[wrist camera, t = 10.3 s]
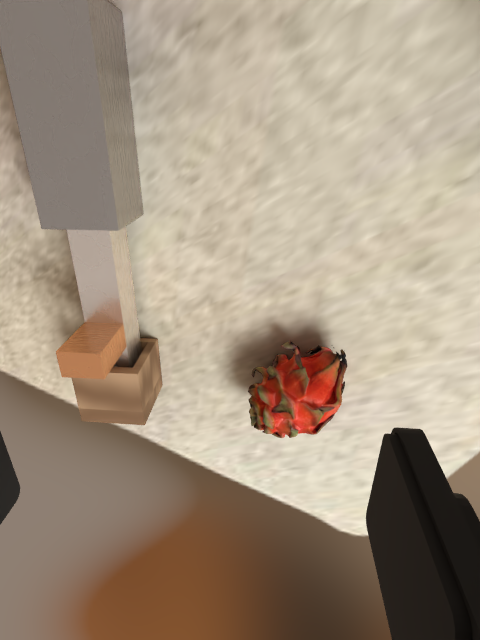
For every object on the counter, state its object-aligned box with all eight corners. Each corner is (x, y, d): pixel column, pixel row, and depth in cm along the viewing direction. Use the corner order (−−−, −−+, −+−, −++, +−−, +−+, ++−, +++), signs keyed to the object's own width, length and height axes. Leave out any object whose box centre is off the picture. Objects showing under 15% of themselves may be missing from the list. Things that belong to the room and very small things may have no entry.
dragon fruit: (246, 390, 45) (325, 323, 42) (290, 453, 42) (379, 386, 40) (213, 395, 37) (308, 313, 35) (265, 473, 34) (373, 391, 32)
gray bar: (74, 155, 32) (10, 164, 24) (116, 155, 32) (64, 165, 24) (111, 366, 42) (73, 422, 34) (143, 368, 41) (113, 424, 34)
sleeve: (41, 13, 29) (-14, -14, 24) (121, 11, 29) (84, -16, 23) (77, 213, 36) (41, 228, 30) (143, 214, 35) (118, 230, 30)
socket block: (99, 336, 42) (69, 370, 36) (157, 338, 41) (137, 374, 35) (107, 381, 44) (81, 421, 38) (162, 384, 44) (144, 425, 38)
